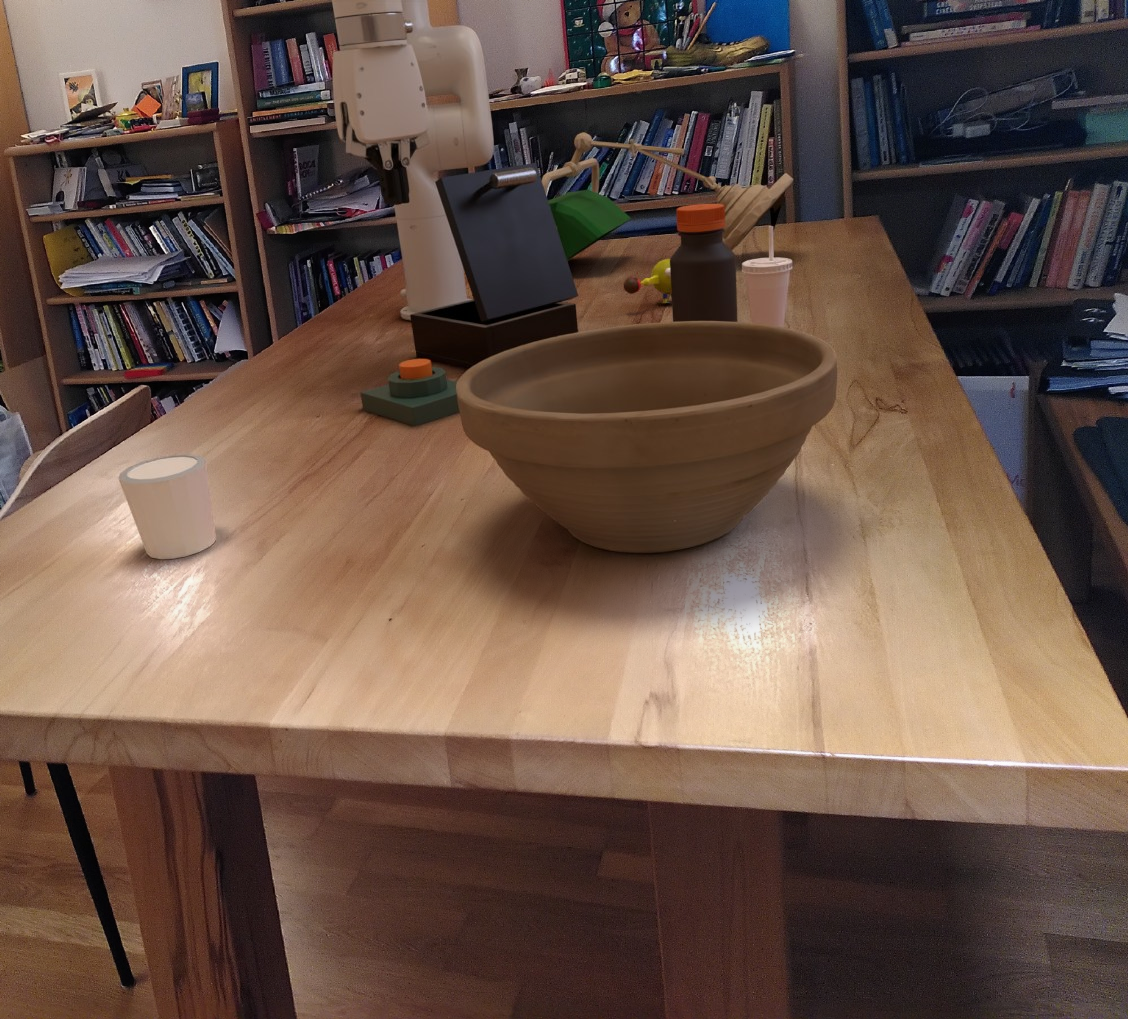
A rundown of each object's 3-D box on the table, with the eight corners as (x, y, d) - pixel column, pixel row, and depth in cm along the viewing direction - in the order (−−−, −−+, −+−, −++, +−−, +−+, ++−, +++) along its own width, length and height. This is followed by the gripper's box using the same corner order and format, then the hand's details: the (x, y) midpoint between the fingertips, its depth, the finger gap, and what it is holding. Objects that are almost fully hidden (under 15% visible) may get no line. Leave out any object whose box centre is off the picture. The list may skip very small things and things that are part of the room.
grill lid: (434, 181, 127) (460, 162, 122) (529, 166, 136) (557, 148, 131) (481, 322, 129) (508, 309, 124) (571, 298, 138) (601, 285, 132)
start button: (395, 379, 119) (392, 364, 118) (421, 371, 121) (419, 357, 120) (412, 383, 116) (410, 368, 115) (439, 376, 118) (436, 361, 117)
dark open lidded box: (416, 357, 143) (409, 314, 141) (502, 334, 152) (497, 293, 149) (490, 374, 131) (485, 327, 129) (579, 348, 140) (575, 303, 137)
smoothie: (793, 341, 132) (792, 228, 127) (742, 343, 134) (739, 232, 128) (793, 329, 138) (792, 221, 133) (744, 332, 139) (741, 224, 134)
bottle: (700, 408, 110) (691, 213, 102) (665, 395, 115) (654, 209, 108) (752, 395, 112) (747, 203, 105) (715, 383, 118) (708, 200, 111)
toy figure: (642, 317, 154) (639, 270, 151) (616, 313, 158) (613, 268, 155) (722, 293, 164) (721, 250, 162) (696, 290, 168) (694, 248, 166)
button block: (363, 410, 121) (357, 377, 120) (427, 391, 126) (422, 359, 125) (415, 426, 113) (409, 391, 112) (481, 405, 118) (477, 371, 117)
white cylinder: (152, 533, 91) (132, 458, 88) (231, 524, 91) (214, 448, 89) (128, 566, 84) (106, 486, 82) (213, 556, 85) (194, 476, 82)
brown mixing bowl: (433, 503, 91) (411, 356, 86) (713, 436, 101) (708, 301, 96) (560, 640, 67) (539, 446, 62) (915, 535, 76) (921, 359, 71)
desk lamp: (676, 342, 217) (537, 216, 215) (819, 183, 196) (666, 43, 195) (635, 390, 186) (473, 244, 185) (798, 208, 166) (617, 43, 165)
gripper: (409, 32, 123) (430, 192, 131) (295, 41, 115) (326, 212, 122) (445, 27, 118) (466, 194, 125) (329, 36, 109) (359, 215, 117)
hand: (397, 203), depth 124 cm, fingers closed
